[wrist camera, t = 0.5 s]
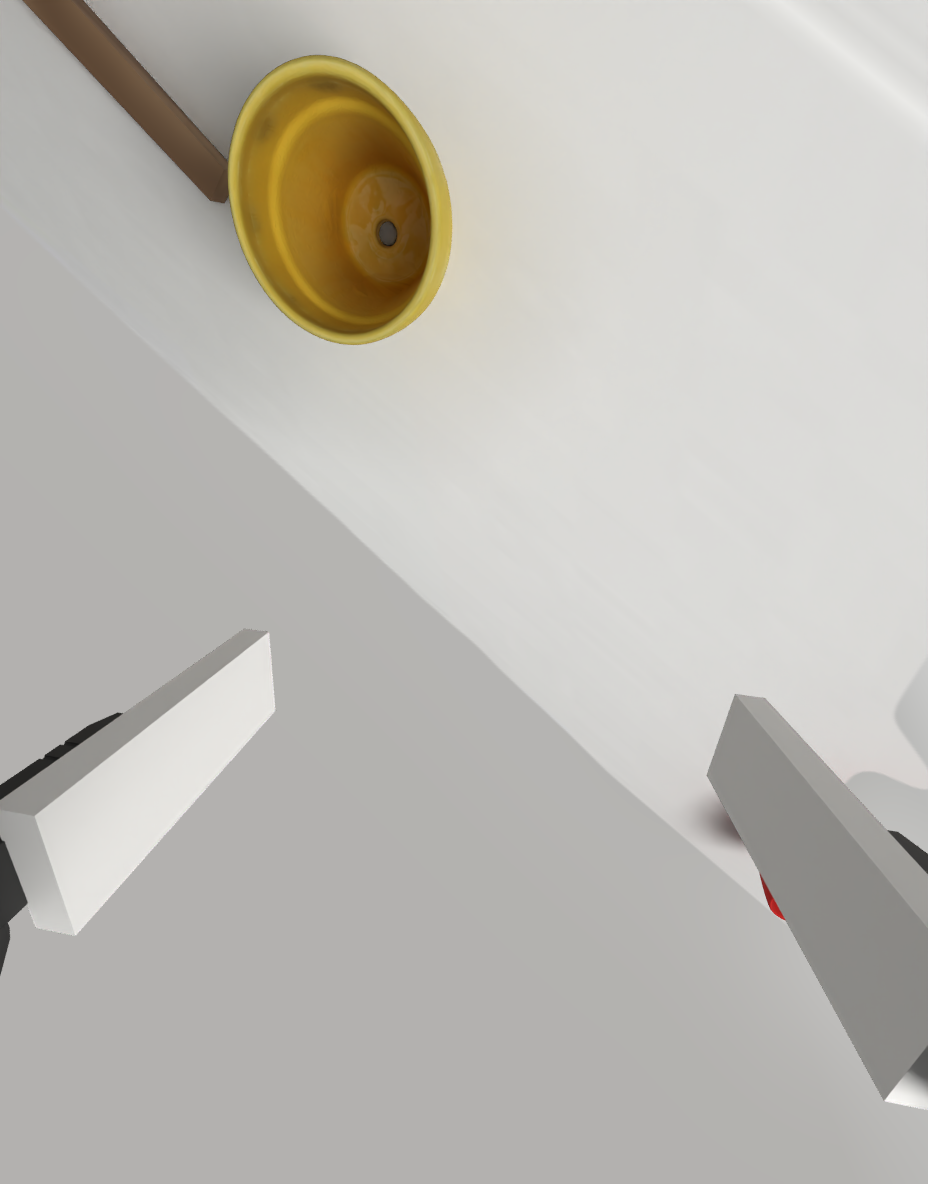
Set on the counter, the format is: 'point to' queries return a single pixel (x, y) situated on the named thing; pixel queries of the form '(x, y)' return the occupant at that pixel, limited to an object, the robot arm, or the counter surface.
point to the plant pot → (338, 200)
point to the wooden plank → (136, 92)
